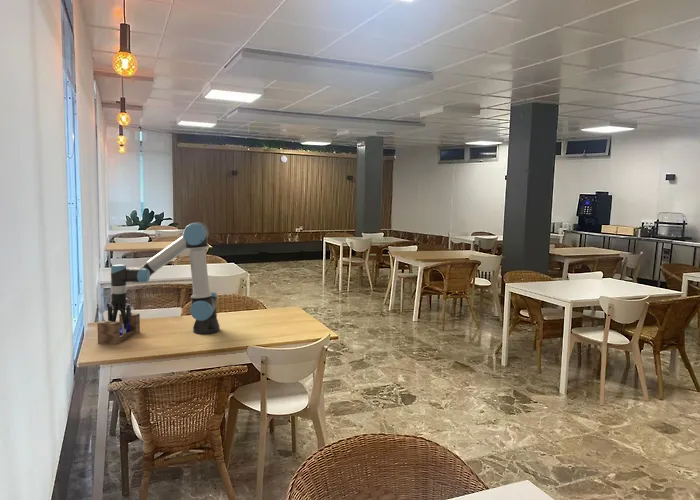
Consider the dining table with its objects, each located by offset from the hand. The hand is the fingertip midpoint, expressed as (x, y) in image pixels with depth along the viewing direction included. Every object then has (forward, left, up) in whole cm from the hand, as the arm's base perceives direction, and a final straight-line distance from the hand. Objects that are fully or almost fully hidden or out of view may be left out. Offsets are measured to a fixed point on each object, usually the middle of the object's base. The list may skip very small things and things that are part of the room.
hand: (119, 334), depth 279 cm
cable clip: (0, 0, 0) cm, 1 cm away
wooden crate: (0, 0, -2) cm, 2 cm away
